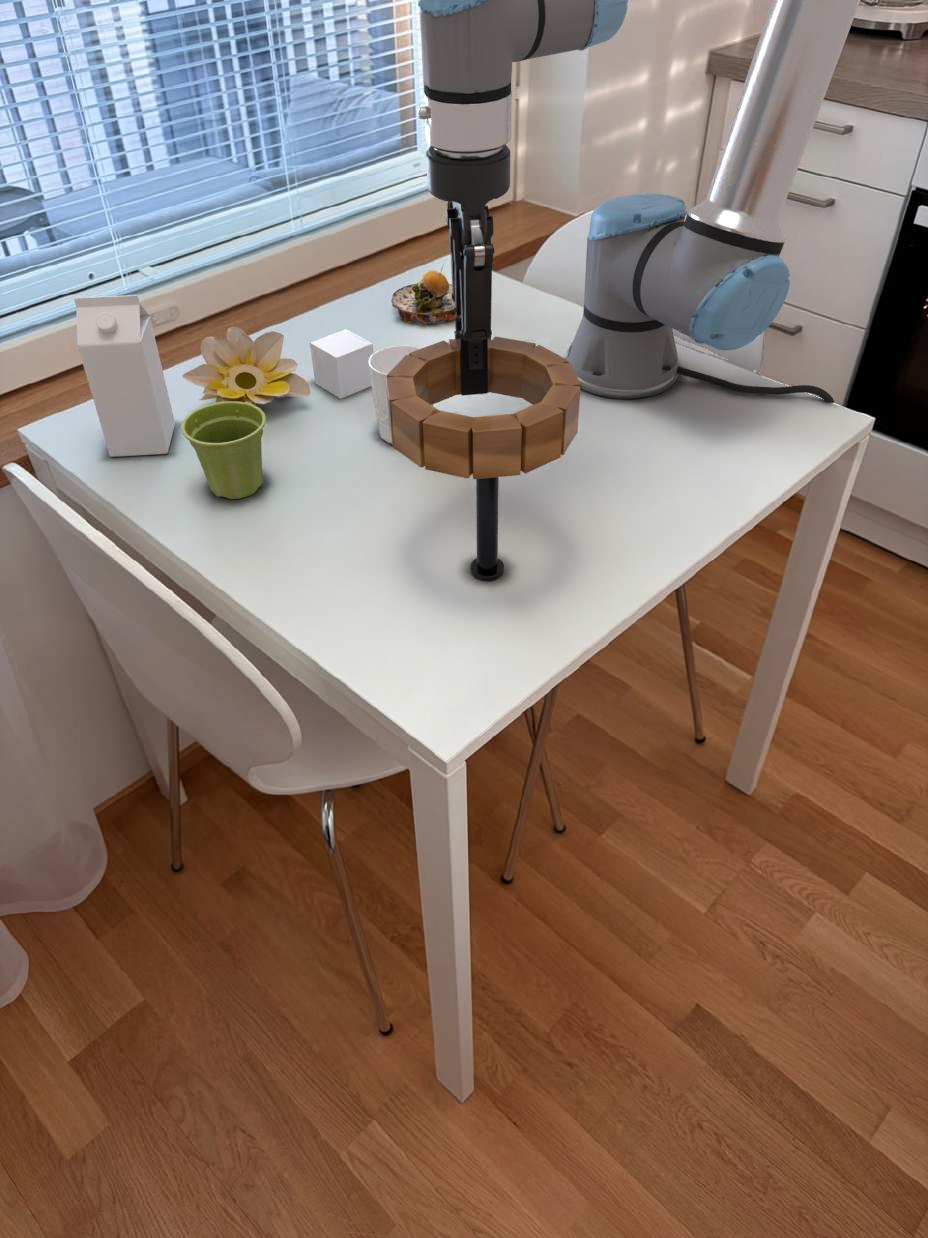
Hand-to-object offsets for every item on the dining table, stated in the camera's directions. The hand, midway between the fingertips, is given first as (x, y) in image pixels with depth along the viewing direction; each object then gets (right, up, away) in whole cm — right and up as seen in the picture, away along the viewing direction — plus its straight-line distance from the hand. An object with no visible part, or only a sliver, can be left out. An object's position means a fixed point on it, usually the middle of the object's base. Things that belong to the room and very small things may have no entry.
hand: (472, 384), depth 103 cm
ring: (+1, -5, -6) cm, 8 cm away
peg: (+2, -19, +2) cm, 19 cm away
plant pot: (-28, -9, +14) cm, 33 cm away
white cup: (-8, -1, +23) cm, 24 cm away
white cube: (-17, +8, +33) cm, 38 cm away
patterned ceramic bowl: (-6, +23, +50) cm, 56 cm away
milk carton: (-41, -2, +22) cm, 47 cm away
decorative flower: (-29, +4, +29) cm, 41 cm away
